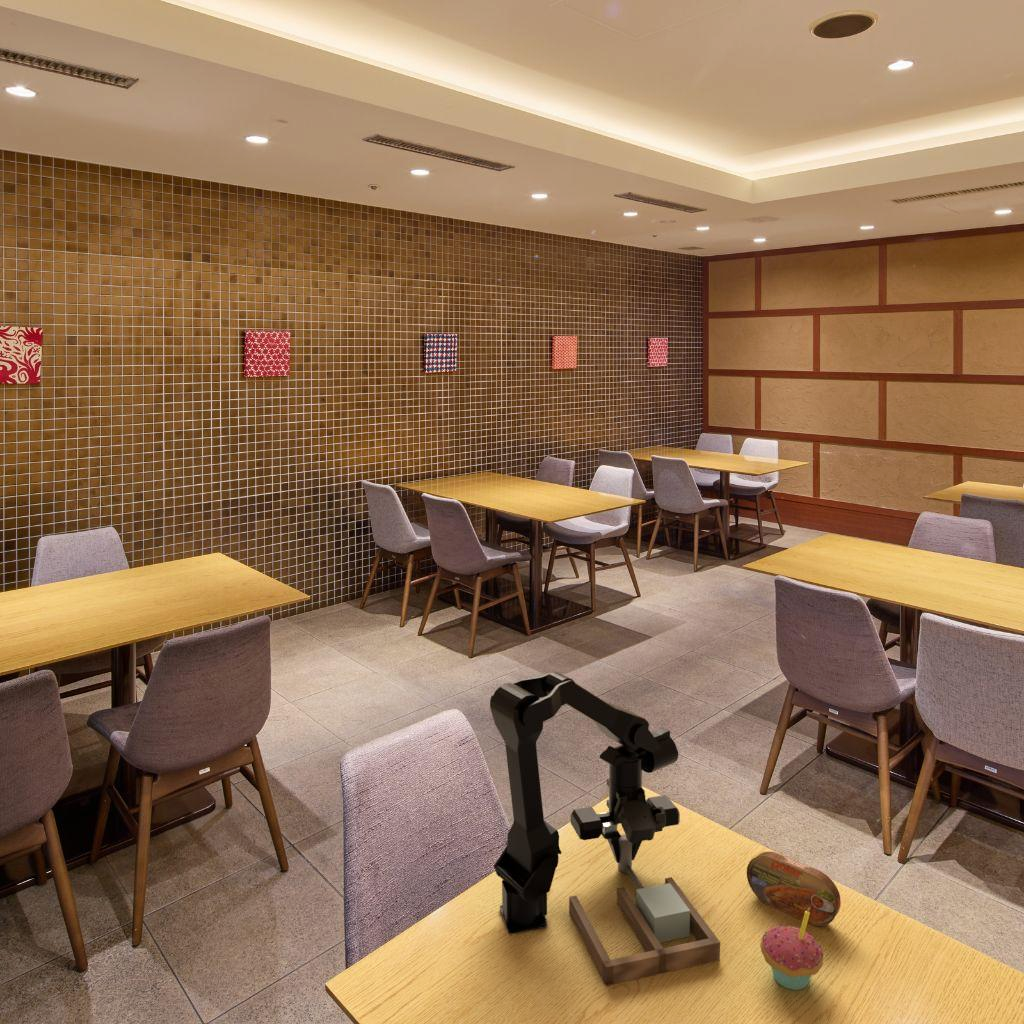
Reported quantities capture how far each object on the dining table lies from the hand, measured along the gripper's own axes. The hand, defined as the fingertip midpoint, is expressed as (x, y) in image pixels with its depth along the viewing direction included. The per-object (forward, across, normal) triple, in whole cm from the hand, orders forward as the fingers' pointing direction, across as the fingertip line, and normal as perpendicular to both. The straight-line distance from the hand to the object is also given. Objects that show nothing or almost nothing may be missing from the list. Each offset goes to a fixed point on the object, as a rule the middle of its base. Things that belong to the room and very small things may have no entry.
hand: (624, 860), depth 138 cm
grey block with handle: (+2, 0, -9) cm, 9 cm away
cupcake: (+2, +13, -30) cm, 33 cm away
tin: (+2, +22, -17) cm, 28 cm away
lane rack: (+2, -4, -17) cm, 17 cm away
